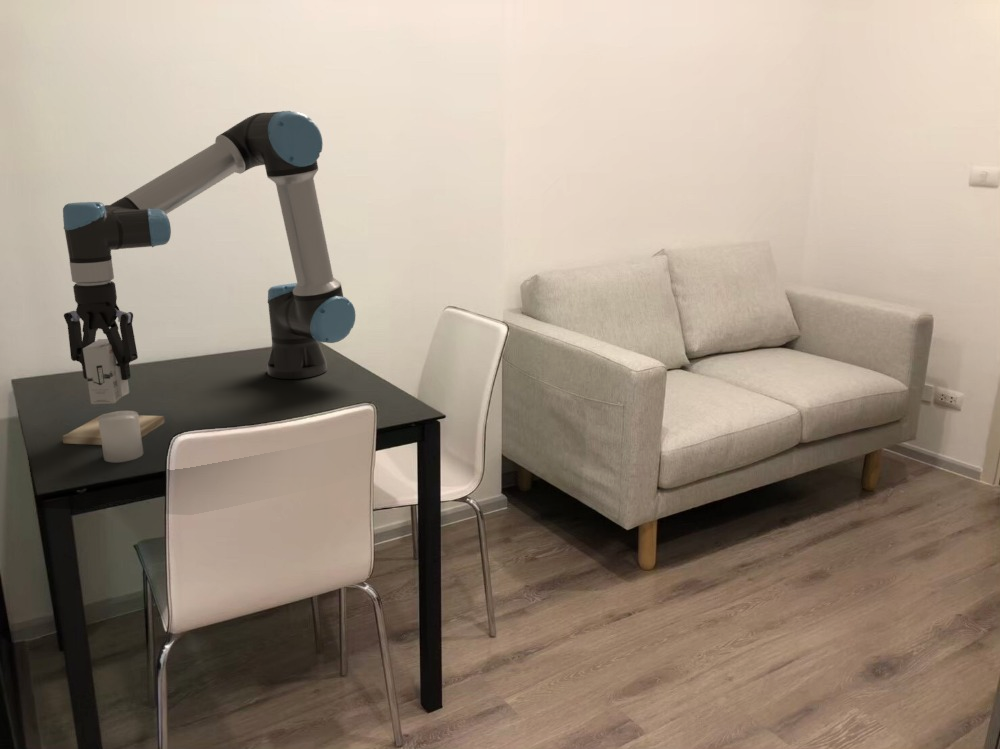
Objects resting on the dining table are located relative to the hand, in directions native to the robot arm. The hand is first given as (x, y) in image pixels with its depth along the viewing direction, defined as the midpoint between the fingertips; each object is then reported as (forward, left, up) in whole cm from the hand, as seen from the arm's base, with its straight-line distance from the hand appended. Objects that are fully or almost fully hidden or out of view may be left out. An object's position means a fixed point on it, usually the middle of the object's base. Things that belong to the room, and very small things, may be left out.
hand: (109, 394), depth 171 cm
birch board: (0, 0, -8) cm, 8 cm away
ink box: (0, 0, -1) cm, 1 cm away
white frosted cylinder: (-9, +12, -9) cm, 17 cm away
